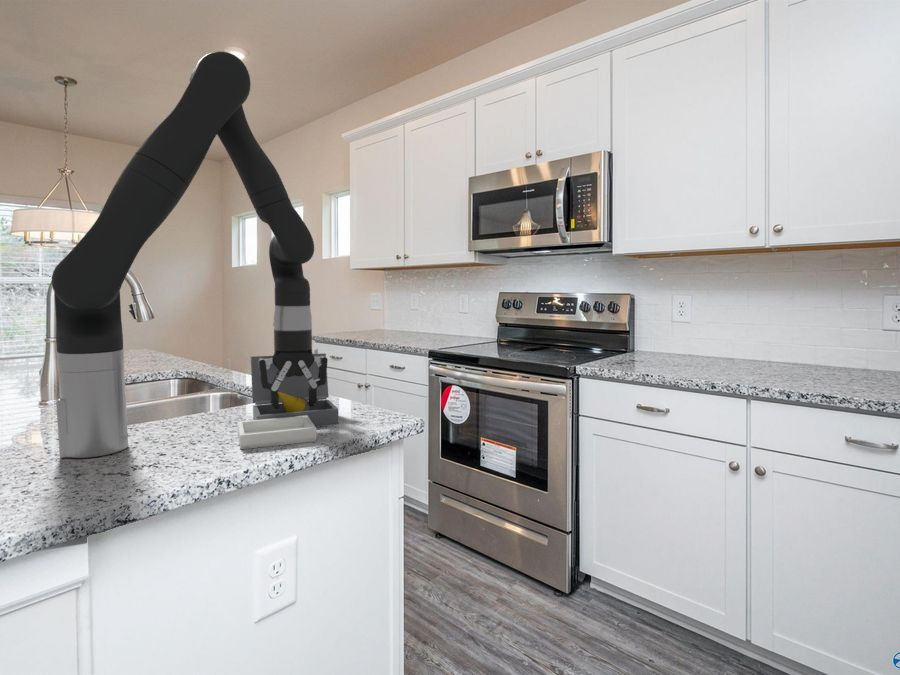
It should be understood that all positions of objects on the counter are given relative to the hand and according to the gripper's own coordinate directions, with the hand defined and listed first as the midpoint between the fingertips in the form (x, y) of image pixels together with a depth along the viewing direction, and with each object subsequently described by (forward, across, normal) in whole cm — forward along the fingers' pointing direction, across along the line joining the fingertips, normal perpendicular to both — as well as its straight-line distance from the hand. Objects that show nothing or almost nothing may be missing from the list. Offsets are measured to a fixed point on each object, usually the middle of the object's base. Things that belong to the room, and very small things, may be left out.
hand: (294, 406), depth 109 cm
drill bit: (+3, 0, 0) cm, 3 cm away
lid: (-5, 0, +6) cm, 8 cm away
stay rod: (+3, +6, +9) cm, 11 cm away
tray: (+3, -5, -11) cm, 12 cm away
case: (+3, 0, 0) cm, 3 cm away
